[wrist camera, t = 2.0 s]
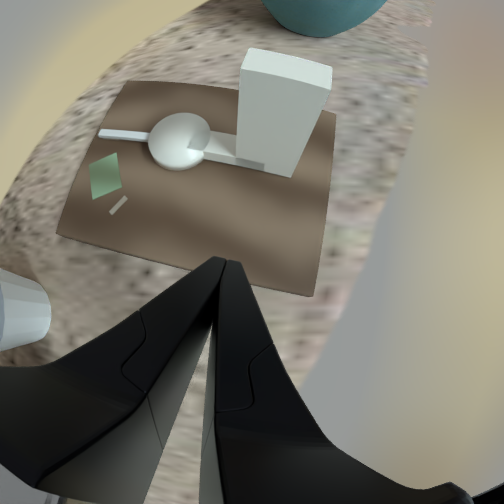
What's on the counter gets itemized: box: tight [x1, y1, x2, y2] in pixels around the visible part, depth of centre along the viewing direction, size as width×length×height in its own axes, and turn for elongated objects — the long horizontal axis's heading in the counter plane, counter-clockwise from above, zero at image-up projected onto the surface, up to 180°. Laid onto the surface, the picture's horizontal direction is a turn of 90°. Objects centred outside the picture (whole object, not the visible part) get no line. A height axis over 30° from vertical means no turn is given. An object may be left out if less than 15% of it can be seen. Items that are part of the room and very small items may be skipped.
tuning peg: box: [98, 48, 332, 178], centre depth 16 cm, size 5×17×10 cm, turn 78°
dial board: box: [56, 81, 336, 297], centre depth 21 cm, size 17×22×1 cm
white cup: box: [0, 268, 51, 352], centre depth 15 cm, size 7×7×7 cm
